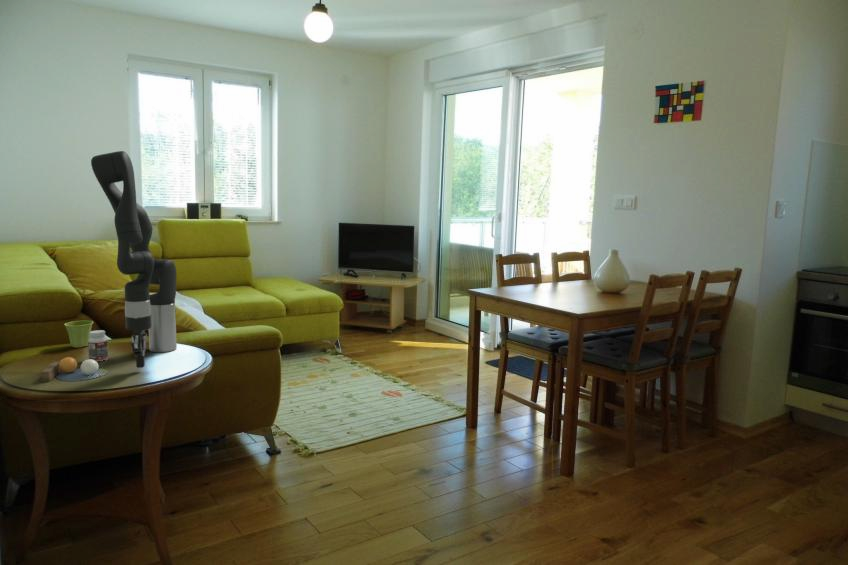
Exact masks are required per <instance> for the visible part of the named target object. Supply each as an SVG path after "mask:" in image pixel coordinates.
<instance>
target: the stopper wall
mask: <svg viewBox="0 0 848 565" xmlns="http://www.w3.org/2000/svg"><path fill="white" fill-rule="evenodd" d="M60 361H61V360H60ZM60 361H59V360H58V361H53V362H52V363H51V364H49V365H48V366H47V367H46V368H44V369H43V370H42V371H41V372H40V373H41V375H40V376H41V383H47V382H51V381H52V380H53V379H54V378H56V376H57V375H58V374H60V373H61V372H62V371H61V370H60V368H59V363H60Z"/></svg>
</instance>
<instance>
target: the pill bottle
mask: <svg viewBox="0 0 848 565" xmlns="http://www.w3.org/2000/svg"><path fill="white" fill-rule="evenodd" d="M90 336H91V337H90V339H89V340H88V345H89V346H88V359H92V360H95V361H96V362H97V363H99V362H98V361H101V362H104V361H103V360H105V361H107V360H108V358H109V352H108V351H109V349H108V348H109V347H108V338H107V337H106V331H105V330H103V329H99V330H91V332H90Z"/></svg>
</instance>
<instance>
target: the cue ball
mask: <svg viewBox="0 0 848 565" xmlns="http://www.w3.org/2000/svg"><path fill="white" fill-rule="evenodd" d="M98 363H99V362H96V361H95V360H92V359H89V358H88V359H85V360H83V361H82V363H81V364H80V369H81V371H82V373H83V374H85V375H93V374H95V373H96V372H97V371H98V368H100V367H99V364H98Z"/></svg>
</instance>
